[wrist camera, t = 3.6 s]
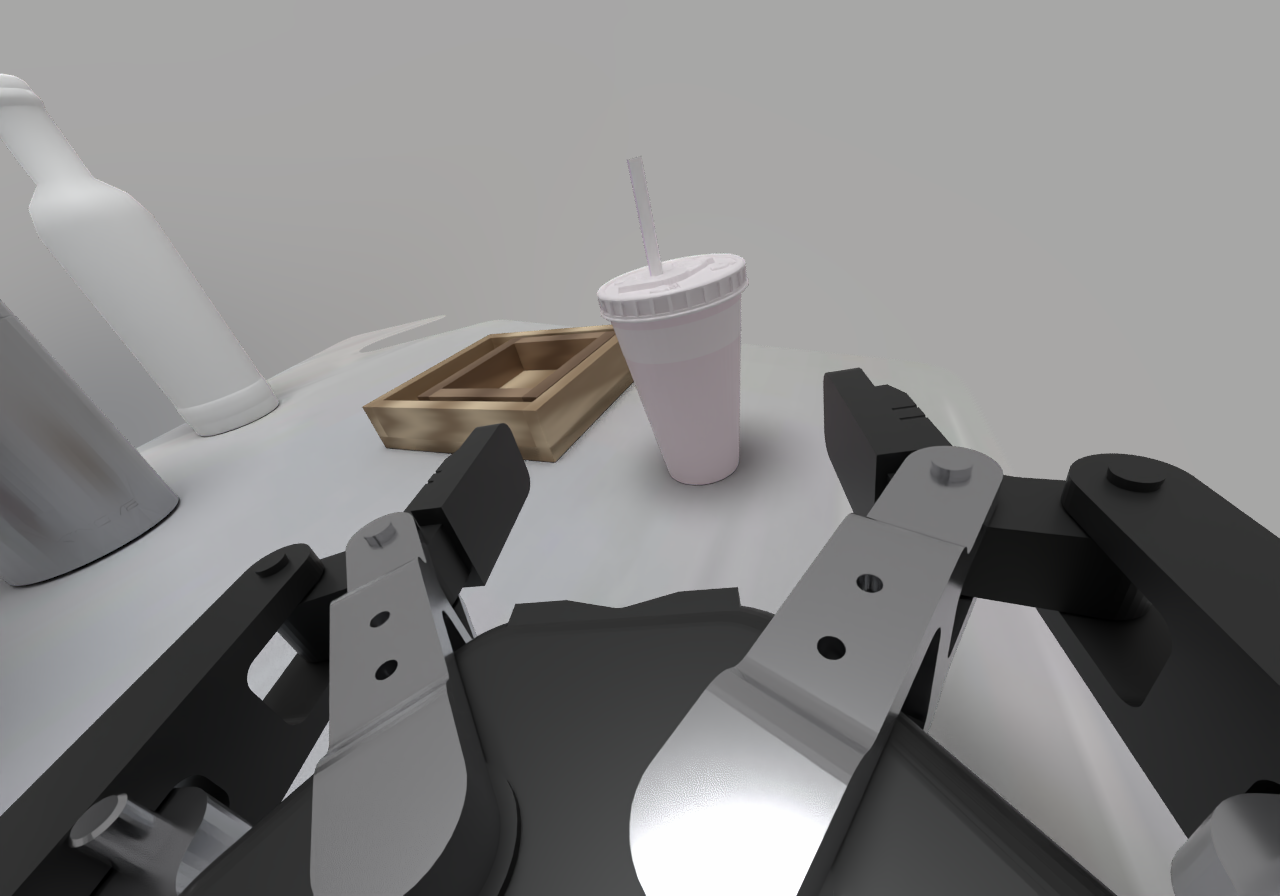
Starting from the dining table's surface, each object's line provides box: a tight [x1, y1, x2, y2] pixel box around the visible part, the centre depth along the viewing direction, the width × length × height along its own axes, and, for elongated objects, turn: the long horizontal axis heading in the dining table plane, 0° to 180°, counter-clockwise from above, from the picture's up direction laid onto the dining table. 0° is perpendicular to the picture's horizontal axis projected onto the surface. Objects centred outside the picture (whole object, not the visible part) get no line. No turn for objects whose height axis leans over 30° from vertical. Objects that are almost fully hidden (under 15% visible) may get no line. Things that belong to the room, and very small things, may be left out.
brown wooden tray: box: [363, 325, 634, 462], centre depth 36 cm, size 16×14×4 cm
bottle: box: [0, 74, 279, 436], centre depth 44 cm, size 8×8×30 cm
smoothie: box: [597, 156, 749, 485], centre depth 21 cm, size 6×6×14 cm
